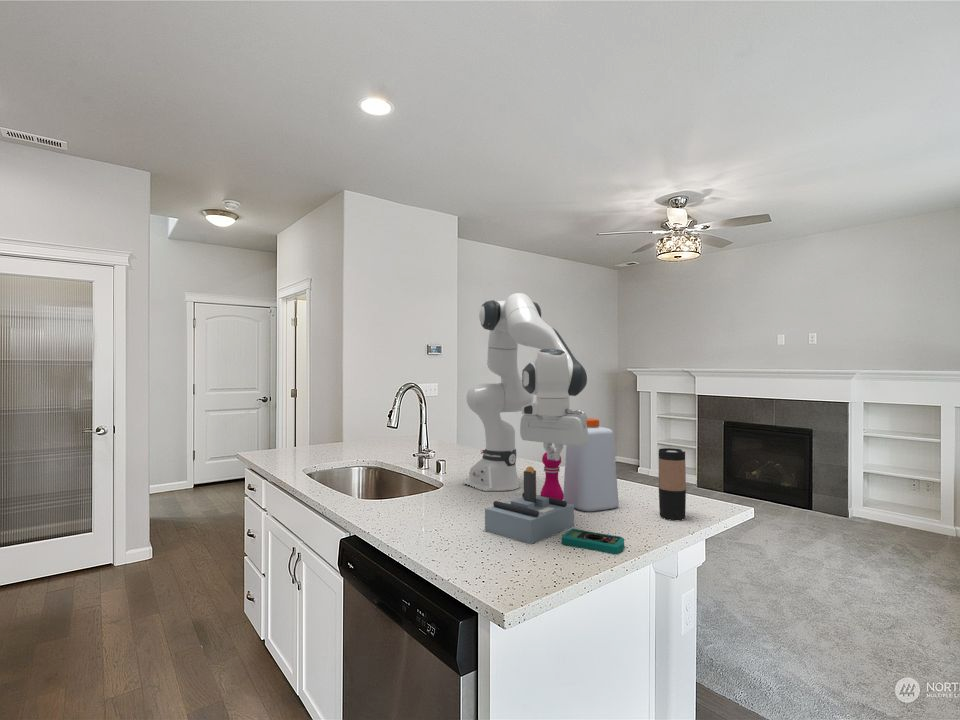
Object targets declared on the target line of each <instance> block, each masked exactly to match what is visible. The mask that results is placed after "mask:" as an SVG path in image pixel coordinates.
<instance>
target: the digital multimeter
mask: <svg viewBox="0 0 960 720" xmlns="http://www.w3.org/2000/svg"><path fill="white" fill-rule="evenodd" d="M561 545H563V546H568V547H573V548H574V547H575V548H580V549H586V550H591V551H595V550H596V551H597V552H600V551H601V552H602V553H605V552H606V554H610V553H611V555H615V554H617V555H618V553H619V554H621V553H622V552H623V551H624V550H625V538H624V537H623V536H619V535H614V534H613V535H612V534H606V533H599V532H595V531H588V530H583V529H578V528H577V529H576V528H572V527H571V528H569V530H567V531H566V532H565V533H563V535H562V536H561ZM623 549H624V550H623ZM621 551H622V552H621Z"/></svg>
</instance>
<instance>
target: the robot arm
mask: <svg viewBox="0 0 960 720" xmlns="http://www.w3.org/2000/svg"><path fill="white" fill-rule="evenodd" d="M541 310H542V309H541V307H540V305H539V304H538V303H537V302H534V301H533V300H532V299H531V298H530V297H529V295H527V294H525V293H523V292H516V293H511V294H510V295H509V296H507V298H506V299H505V300H495V299H493V300H486V301H484V303H482V304H481V306H480V310H479V314H478V315H479V321H480V325H481V327H482V328H483V329H485V330H487V331H489V333H488V334H489V335H488V340H487V342H488V343H487V360H486V361H487V362H486V365H487V368H488V370H490V372H491V373H493V374H495V375H497V376H499V377H500V382H499V383H480V384H476V385H473V386H471V387H470V388H469V389H468V391H467V394H466V404H467V405H468V407H469V410H471V411H472V412H473V413H475V414H476V415H477V416H478V418H479V419H480V421H481V422H482V425H483V427H484V434H485V449H482V450H481V451H480V454H481V455H482V458H481V459H480V460H478V461H477V462H476V463H475V464H474V465H473V466H472V467H470V470H469V476H468V478H467V479H464V480H462V481H463V482H462V484H463V483H464V484H463V485H465V484H467V485H466V486H468V485H470V486H469V487H471V486H472V487H471V488H474V487H475V488H474V489H477V490H480V491H482V490H483V492H490V491H496V492H501V491H502V492H504V491H513V490H514V491H515V490H517V489H518V488H520V487H521V486H520V483H519V479H518V471H517V464H516V463H517V448H516V430H515V428H514V426H513V425H512V424H510V422H506V421H505V420H503V419H502V418H501V414H502V413H518V412H521V414H522V416H521V418H520V426H519V428H520V429H519V433H520V437H521V440H523V441H526V442H528V441H529V442H536V443H537V442H538V443H543V445H542V446H543V449H544V450H545V453H547V459H548V460H555V461H558V460H560V456H561V453H562V452H563V449H564V446H566V445H571V446H585V445H587V443H588V441H589V437H588V429H587V418H588V416H587V414H586V413H585V412H583V411H582V409H581V410H580V409H570V396H571V397H576V396H578V395H579V394H581V392H582V391H583V390H584V389H585V388H586V386H587V383H588V377H587V372H586V371H587V370H586V369H585V367H584V366H583V365H582V364H581V363H580V362H579V361H578V360H577V359H576V357H575V356H574V354H573V353H572V351H571V350H570V348H569V347H568V345H567V344H566V342H565V341H564V339H563V338H562V336H561V335H560V333H559V332H558V331H557V330H556V329H555V328H554V327H552V326H550V325H549V324H548V323H546V322H545V321H544V320H543V318H542V311H541ZM518 344H519V345H521V346H524V347H529V348H535V349H539V351H537V356H536V359H535V360H534V361H532V362H529V363H528V364H526V366H524V368H523V369H522V372H521V375H520V373H519V368H518ZM521 376H522V377H521ZM534 395H535V396H536V399H535V400H536V401H535V402H533V401H534ZM553 444H554V452H555V453H553V452H552V449H551V446H552V447H553Z"/></svg>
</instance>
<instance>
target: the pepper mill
mask: <svg viewBox="0 0 960 720" xmlns="http://www.w3.org/2000/svg"><path fill="white" fill-rule="evenodd" d="M550 447H551V449H552V452H553V453H555V446H553V445H552V446H550ZM541 462H542V464H543V465H544V466H543V472H545V478H544V479H545V480H544V483H543V485H542V488H541V491H540V496H544V497H549V498H554V499H559V500H563V497H564V496H563V492H564V490H563V488H562V486H561V484H560V480H559V473H560V471H561V470H560V465H561V463H562V456H561V455H560V460H558V461H555V460H548V459H547V453H546V452H544V453H543V454H542V457H541ZM563 501H564V500H563Z"/></svg>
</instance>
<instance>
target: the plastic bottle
mask: <svg viewBox="0 0 960 720" xmlns="http://www.w3.org/2000/svg"><path fill="white" fill-rule="evenodd" d="M587 429H588V437H589V441H588V443H587V445H585V446H571V445H565V446H566V447H565V463H564V478H563V496H564V497H563V501H566V502H567V503H569V504H573V505H574V509H575V510H576V509H577V510H578V511H582V512H599V511H605V510H612V509H613V510H614V509H616V508H617V507H618V506H619V491H618V490H619V488H618V479H617V468H616V453H615V440H614V439H615V438H614V431H613V430H612V429H610V428H608V427H603V426H600V420H599V418H588V417H587Z"/></svg>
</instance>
